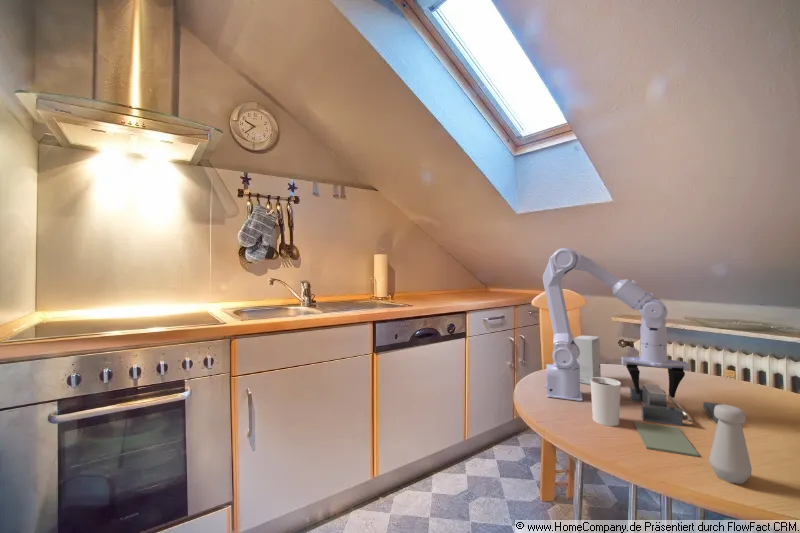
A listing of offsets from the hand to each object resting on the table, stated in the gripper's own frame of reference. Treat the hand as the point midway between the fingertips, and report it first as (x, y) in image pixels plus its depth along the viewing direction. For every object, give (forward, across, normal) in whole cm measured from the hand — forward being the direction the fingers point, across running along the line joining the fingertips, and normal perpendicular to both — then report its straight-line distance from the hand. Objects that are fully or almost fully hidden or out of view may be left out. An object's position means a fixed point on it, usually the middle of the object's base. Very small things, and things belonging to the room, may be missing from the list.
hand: (654, 394), depth 95 cm
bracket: (+5, +14, +2) cm, 15 cm away
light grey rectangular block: (+4, 0, 0) cm, 5 cm away
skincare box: (+4, -14, +21) cm, 26 cm away
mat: (+4, -2, -17) cm, 18 cm away
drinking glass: (+5, -13, -12) cm, 18 cm away
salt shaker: (+5, +5, -30) cm, 31 cm away
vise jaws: (+4, 0, 0) cm, 4 cm away
